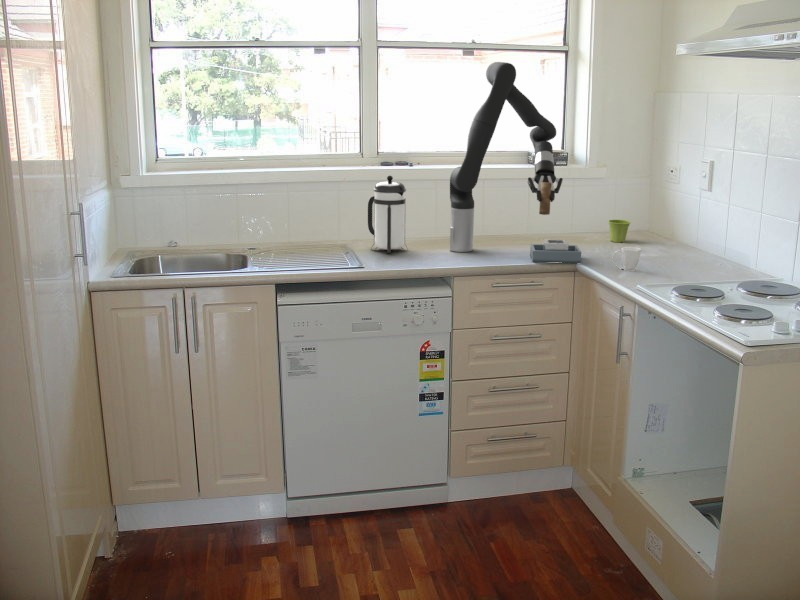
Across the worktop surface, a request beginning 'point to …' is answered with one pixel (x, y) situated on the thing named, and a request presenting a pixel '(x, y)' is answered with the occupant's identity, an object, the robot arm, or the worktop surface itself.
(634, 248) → the cup
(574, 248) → the bin
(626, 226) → the plant pot
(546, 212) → the peg
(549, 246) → the bore block
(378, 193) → the coffee press
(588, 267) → the worktop surface
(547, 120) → the robot arm
